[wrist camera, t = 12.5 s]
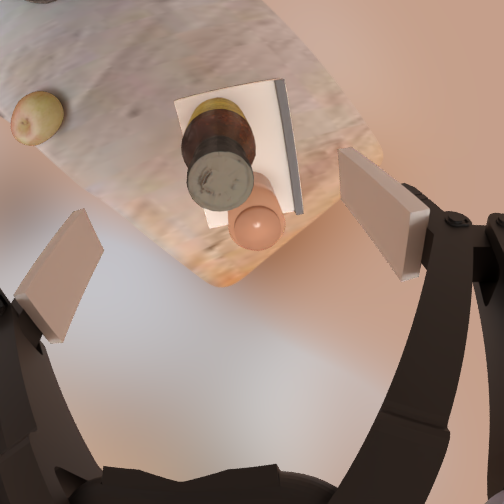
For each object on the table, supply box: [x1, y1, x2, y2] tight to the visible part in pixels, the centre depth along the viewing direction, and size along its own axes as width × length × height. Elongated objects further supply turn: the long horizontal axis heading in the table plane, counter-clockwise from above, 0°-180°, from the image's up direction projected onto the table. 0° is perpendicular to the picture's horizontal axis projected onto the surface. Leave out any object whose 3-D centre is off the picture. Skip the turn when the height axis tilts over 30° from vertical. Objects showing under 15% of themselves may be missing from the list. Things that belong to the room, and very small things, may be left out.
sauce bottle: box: [181, 97, 256, 212], centre depth 25 cm, size 6×6×20 cm
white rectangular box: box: [174, 78, 304, 229], centre depth 37 cm, size 18×13×4 cm
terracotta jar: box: [228, 171, 285, 251], centre depth 35 cm, size 6×6×10 cm
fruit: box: [11, 91, 64, 146], centre depth 28 cm, size 8×7×8 cm
